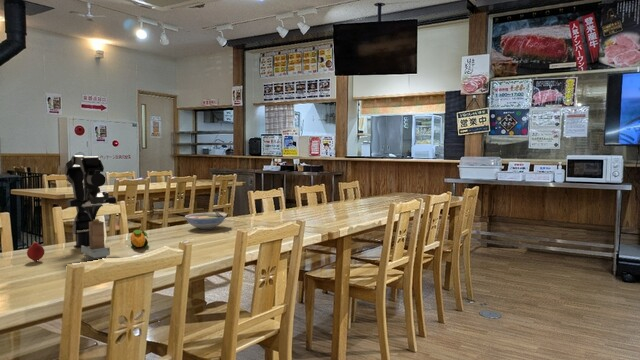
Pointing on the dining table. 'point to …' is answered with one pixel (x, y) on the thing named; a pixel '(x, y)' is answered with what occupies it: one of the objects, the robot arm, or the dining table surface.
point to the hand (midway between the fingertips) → (92, 221)
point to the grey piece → (95, 252)
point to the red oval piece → (35, 251)
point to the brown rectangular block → (96, 234)
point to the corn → (139, 239)
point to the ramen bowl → (205, 220)
